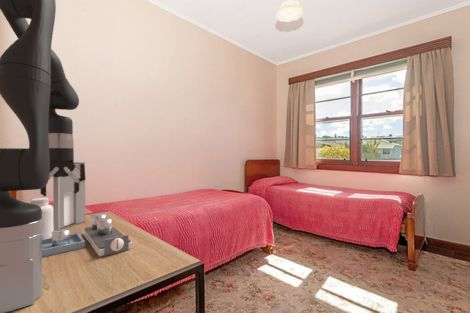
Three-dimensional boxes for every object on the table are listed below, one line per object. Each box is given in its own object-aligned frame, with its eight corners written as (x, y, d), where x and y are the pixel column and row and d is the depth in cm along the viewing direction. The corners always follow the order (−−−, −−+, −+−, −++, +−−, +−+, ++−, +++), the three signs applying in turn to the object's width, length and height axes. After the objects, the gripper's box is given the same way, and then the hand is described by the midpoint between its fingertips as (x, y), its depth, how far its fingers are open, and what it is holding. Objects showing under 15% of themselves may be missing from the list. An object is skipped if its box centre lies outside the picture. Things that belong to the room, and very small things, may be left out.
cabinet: (65, 219, 117) (64, 162, 117) (88, 217, 121) (87, 161, 121) (53, 232, 98) (53, 163, 98) (81, 229, 102) (81, 163, 102)
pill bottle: (22, 239, 89) (21, 199, 89) (47, 233, 96) (47, 196, 96) (32, 243, 86) (32, 201, 85) (57, 236, 93) (57, 198, 93)
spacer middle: (114, 233, 89) (113, 219, 89) (98, 236, 86) (98, 222, 86) (110, 230, 93) (110, 217, 93) (95, 232, 90) (95, 219, 90)
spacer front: (70, 245, 82) (70, 231, 82) (52, 249, 79) (52, 234, 79) (68, 241, 86) (68, 227, 86) (51, 245, 82) (51, 230, 82)
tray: (85, 247, 82) (85, 241, 82) (39, 257, 74) (39, 250, 74) (79, 238, 91) (79, 232, 91) (38, 246, 83) (38, 240, 83)
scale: (133, 249, 80) (133, 234, 80) (100, 257, 74) (100, 241, 74) (110, 228, 102) (110, 217, 102) (82, 233, 96) (82, 221, 96)
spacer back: (107, 227, 96) (107, 215, 96) (93, 230, 93) (93, 217, 93) (104, 224, 100) (104, 212, 100) (90, 227, 96) (90, 214, 96)
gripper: (33, 146, 74) (33, 198, 74) (86, 147, 84) (86, 193, 84) (32, 147, 80) (33, 195, 80) (82, 147, 89) (83, 191, 89)
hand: (60, 194), depth 82 cm, fingers open, 8 cm apart
